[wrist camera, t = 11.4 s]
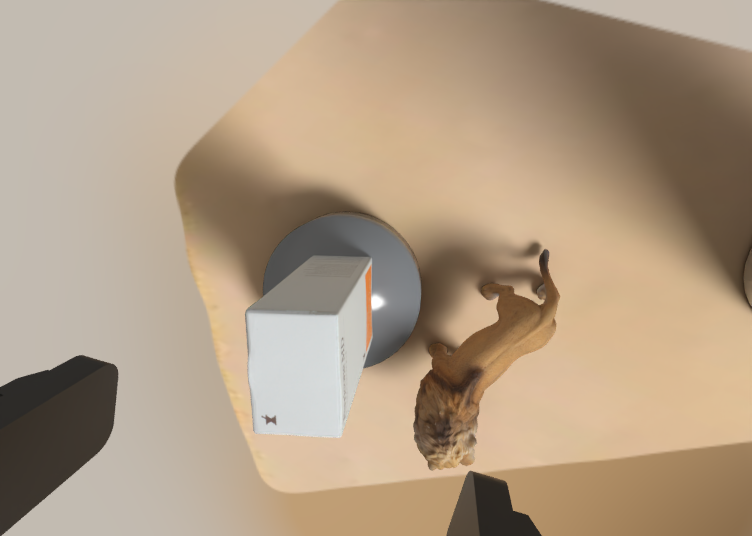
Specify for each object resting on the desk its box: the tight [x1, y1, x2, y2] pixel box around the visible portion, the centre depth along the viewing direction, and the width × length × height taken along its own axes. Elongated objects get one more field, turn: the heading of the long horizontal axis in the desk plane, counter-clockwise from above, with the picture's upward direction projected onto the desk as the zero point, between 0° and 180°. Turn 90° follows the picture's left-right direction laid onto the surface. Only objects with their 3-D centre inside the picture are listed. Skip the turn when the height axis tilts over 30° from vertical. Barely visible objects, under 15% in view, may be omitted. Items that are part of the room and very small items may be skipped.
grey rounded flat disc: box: [263, 212, 422, 368], centre depth 32 cm, size 11×11×3 cm
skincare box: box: [245, 255, 373, 438], centre depth 25 cm, size 6×4×12 cm
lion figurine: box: [413, 249, 560, 471], centre depth 29 cm, size 15×5×9 cm, turn 149°
